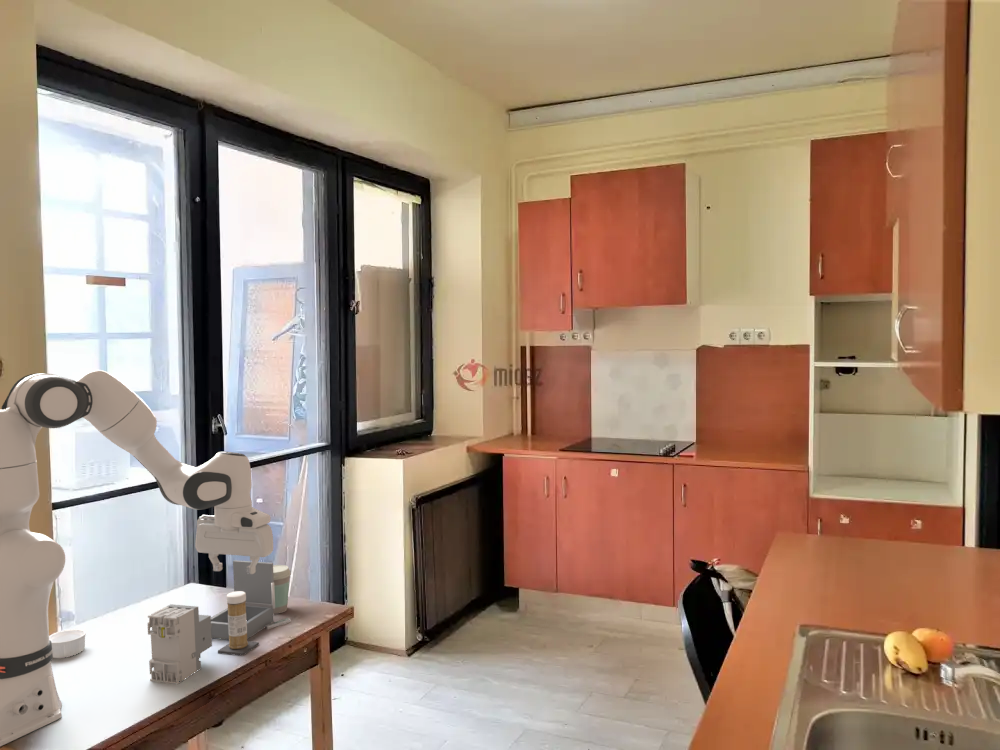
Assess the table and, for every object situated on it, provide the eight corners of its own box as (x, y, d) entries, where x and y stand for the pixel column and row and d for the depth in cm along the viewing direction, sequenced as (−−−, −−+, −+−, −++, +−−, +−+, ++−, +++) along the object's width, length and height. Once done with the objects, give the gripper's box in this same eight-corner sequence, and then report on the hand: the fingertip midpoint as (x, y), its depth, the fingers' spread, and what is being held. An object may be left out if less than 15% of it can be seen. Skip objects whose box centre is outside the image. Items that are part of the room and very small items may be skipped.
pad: (242, 655, 194) (242, 653, 194) (217, 653, 196) (217, 650, 196) (258, 644, 201) (258, 642, 201) (234, 642, 203) (234, 639, 203)
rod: (267, 630, 211) (267, 626, 211) (265, 629, 212) (264, 625, 212) (290, 623, 217) (290, 618, 216) (287, 622, 217) (287, 617, 217)
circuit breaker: (216, 658, 193) (214, 597, 192) (178, 684, 179) (175, 618, 179) (190, 655, 195) (187, 595, 194) (150, 680, 181) (147, 616, 181)
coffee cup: (266, 605, 230) (265, 564, 229) (295, 605, 230) (294, 564, 229) (256, 615, 222) (254, 573, 221) (286, 615, 221) (285, 573, 221)
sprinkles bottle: (245, 641, 202) (243, 589, 201) (249, 647, 198) (247, 594, 197) (227, 645, 200) (224, 592, 199) (230, 651, 196) (228, 597, 195)
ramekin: (38, 660, 195) (37, 642, 194) (59, 645, 204) (58, 629, 203) (74, 659, 194) (73, 642, 194) (93, 645, 203) (92, 628, 203)
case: (247, 641, 203) (244, 580, 202) (203, 637, 207) (200, 576, 206) (278, 620, 217) (276, 563, 216) (236, 617, 221) (234, 560, 220)
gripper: (189, 517, 197) (190, 572, 197) (262, 521, 191) (262, 578, 192) (205, 511, 203) (206, 565, 203) (276, 516, 197) (277, 571, 198)
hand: (234, 572), depth 197 cm, fingers open, 8 cm apart
